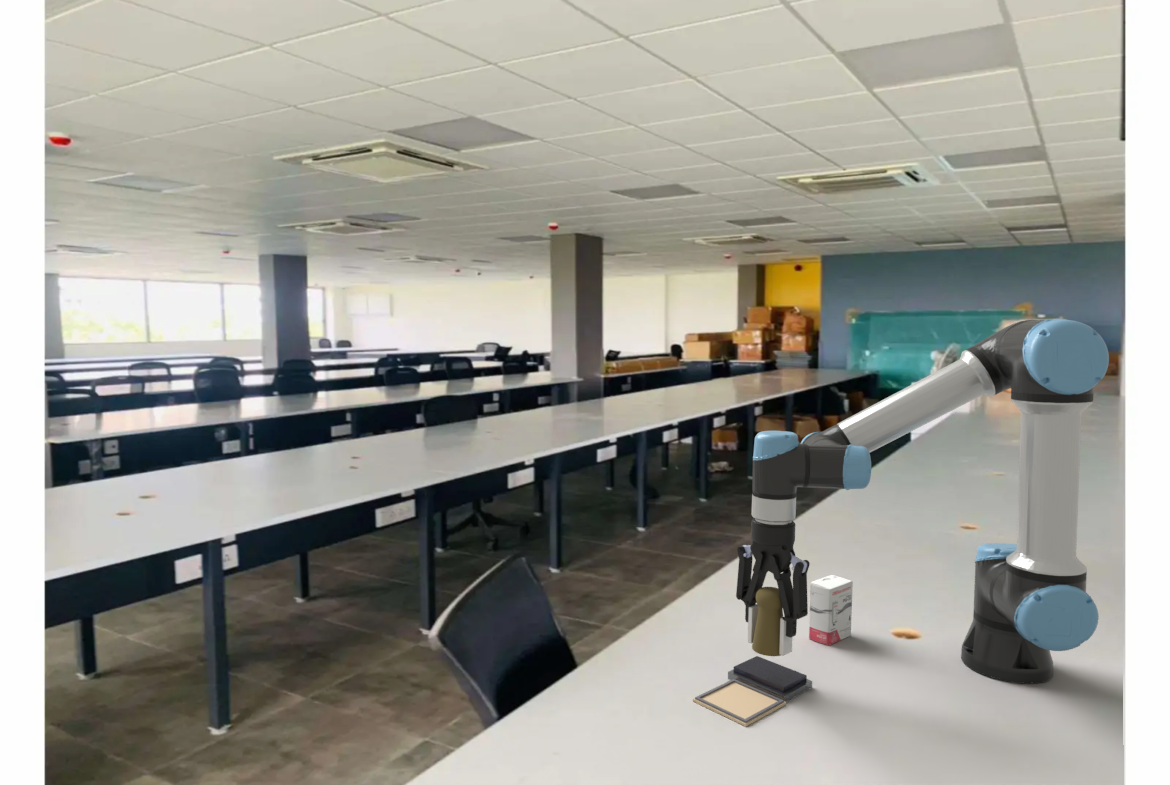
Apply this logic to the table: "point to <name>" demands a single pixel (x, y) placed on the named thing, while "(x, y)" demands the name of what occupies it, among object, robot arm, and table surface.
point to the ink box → (830, 609)
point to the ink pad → (771, 678)
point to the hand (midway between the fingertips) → (769, 646)
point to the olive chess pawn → (768, 622)
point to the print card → (739, 702)
